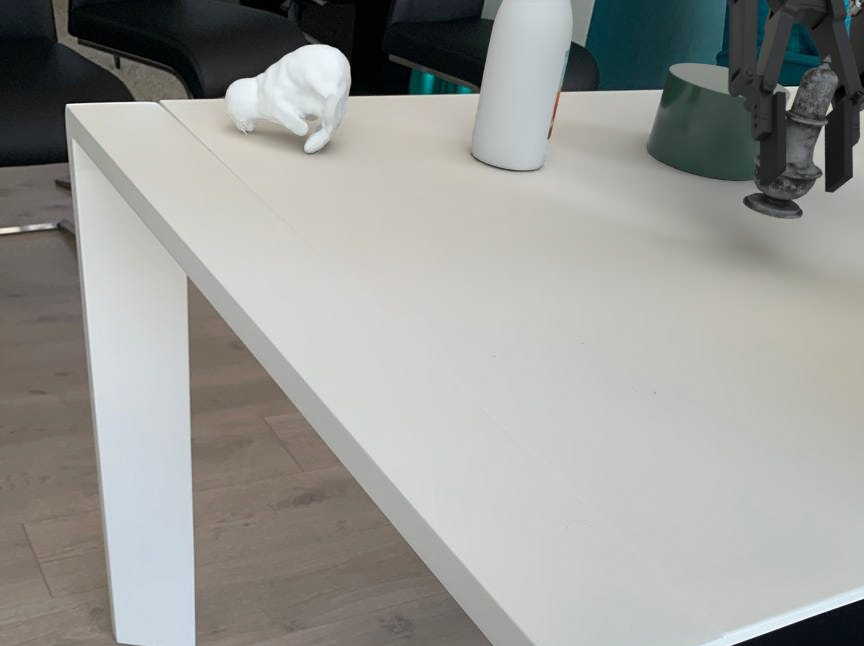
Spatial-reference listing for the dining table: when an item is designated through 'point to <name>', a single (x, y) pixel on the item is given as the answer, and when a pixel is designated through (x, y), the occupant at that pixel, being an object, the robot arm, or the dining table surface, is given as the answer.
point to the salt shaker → (797, 146)
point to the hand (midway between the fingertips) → (806, 180)
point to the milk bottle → (522, 83)
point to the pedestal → (704, 124)
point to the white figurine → (295, 94)
